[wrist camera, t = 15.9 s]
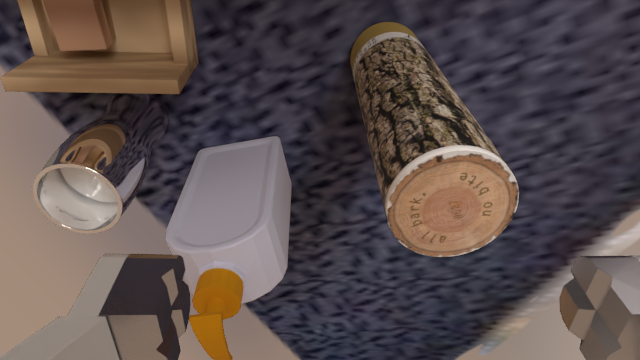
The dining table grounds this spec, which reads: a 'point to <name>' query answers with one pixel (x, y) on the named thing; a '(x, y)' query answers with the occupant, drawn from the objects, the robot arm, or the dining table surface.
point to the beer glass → (101, 165)
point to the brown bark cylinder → (428, 149)
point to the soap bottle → (231, 232)
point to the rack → (112, 52)
